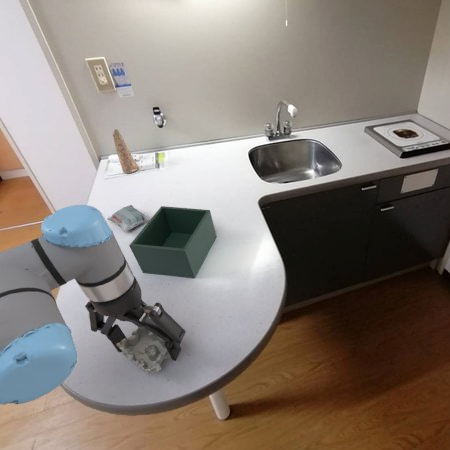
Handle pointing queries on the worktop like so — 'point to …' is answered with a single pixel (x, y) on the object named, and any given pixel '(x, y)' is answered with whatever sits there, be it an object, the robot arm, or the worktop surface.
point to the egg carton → (144, 349)
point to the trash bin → (174, 242)
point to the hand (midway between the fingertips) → (150, 350)
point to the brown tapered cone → (124, 154)
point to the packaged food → (128, 218)
